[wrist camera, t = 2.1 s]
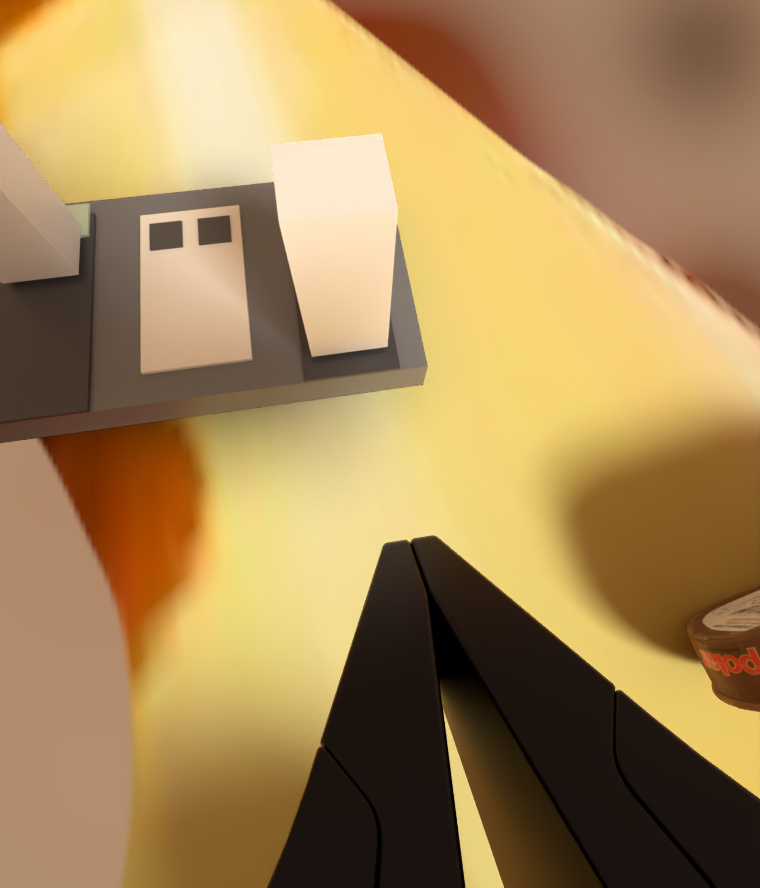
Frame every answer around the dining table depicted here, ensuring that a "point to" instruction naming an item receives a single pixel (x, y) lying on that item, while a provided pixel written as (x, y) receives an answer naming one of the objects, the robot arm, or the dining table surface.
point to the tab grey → (33, 221)
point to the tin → (731, 648)
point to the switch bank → (179, 321)
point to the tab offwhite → (338, 238)
